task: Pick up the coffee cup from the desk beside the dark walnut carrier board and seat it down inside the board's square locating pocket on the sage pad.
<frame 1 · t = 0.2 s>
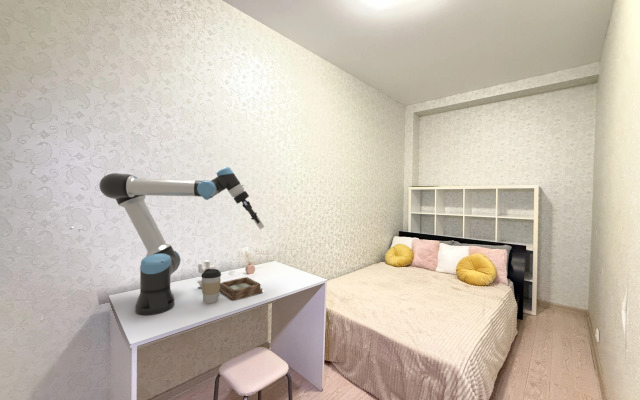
hand: (261, 226, 144), 35 cm above the table, tool tilted 35°, fingers open, 13 cm apart
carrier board: (240, 291, 141), on the table
coffee cup: (210, 300, 129), on the table
figurine: (206, 287, 146), on the table
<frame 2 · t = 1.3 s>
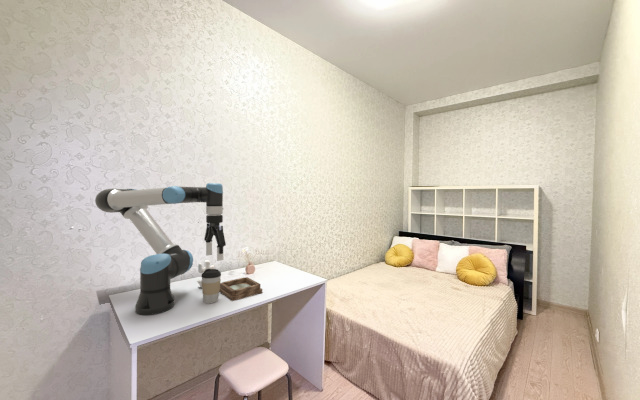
hand: (214, 257, 129), 21 cm above the table, tool pointing down, fingers open, 13 cm apart
nothing on the table moved.
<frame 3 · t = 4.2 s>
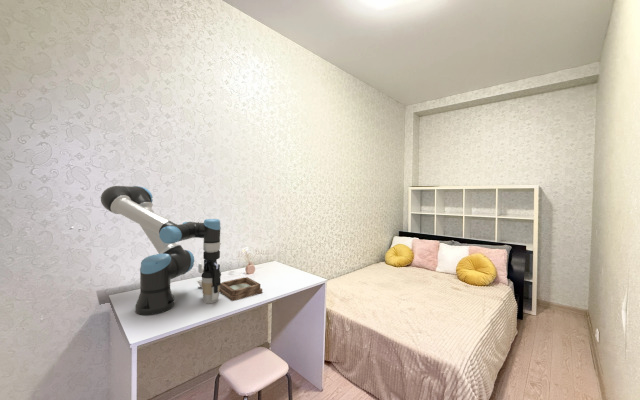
hand: (211, 296, 129), 2 cm above the table, tool pointing down, fingers closed on coffee cup, 9 cm apart
coffee cup: (210, 300, 129), on the table, touching gripper
everything else where it was.
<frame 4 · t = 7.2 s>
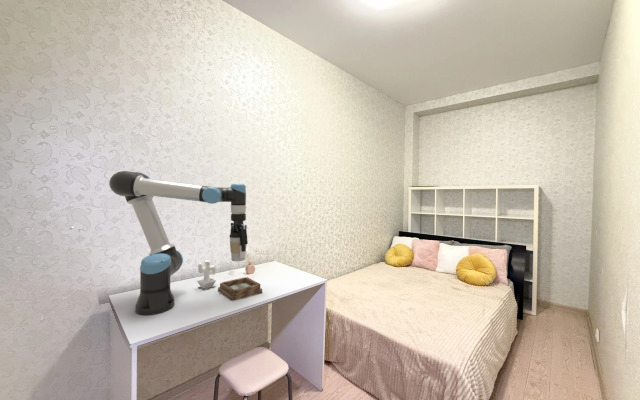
hand: (238, 255, 139), 20 cm above the table, tool pointing down, fingers closed on coffee cup, 9 cm apart
coffee cup: (238, 260, 139), point 18 cm above the table, touching gripper
everything else where it was.
when the fingers open (6 cm above the table, at t = 10.1 s): coffee cup drops 1 cm, resting on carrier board.
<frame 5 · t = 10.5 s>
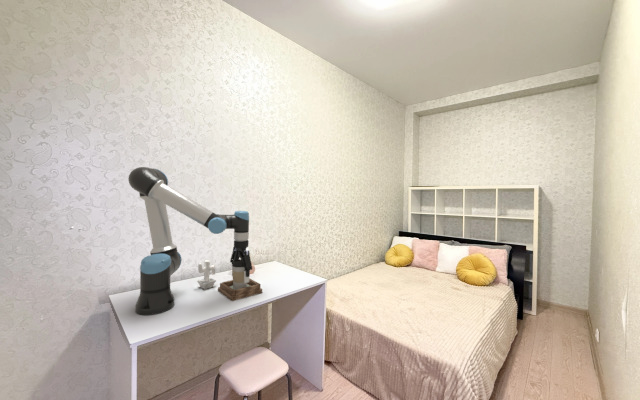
hand: (240, 279, 141), 7 cm above the table, tool pointing down, fingers open, 13 cm apart
coffee cup: (240, 288, 141), point 2 cm above the table, touching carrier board
everything else where it was.
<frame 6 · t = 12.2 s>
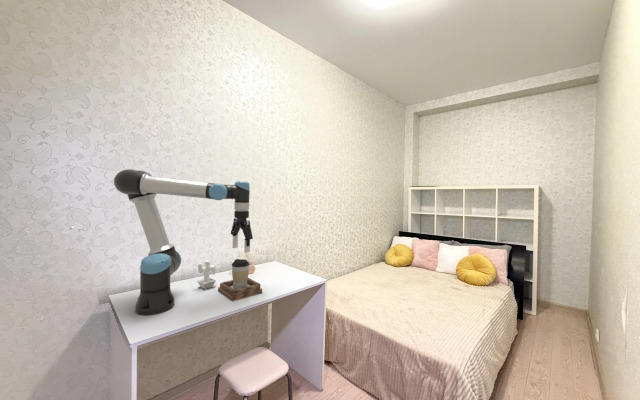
hand: (240, 249, 141), 23 cm above the table, tool pointing down, fingers open, 13 cm apart
nothing on the table moved.
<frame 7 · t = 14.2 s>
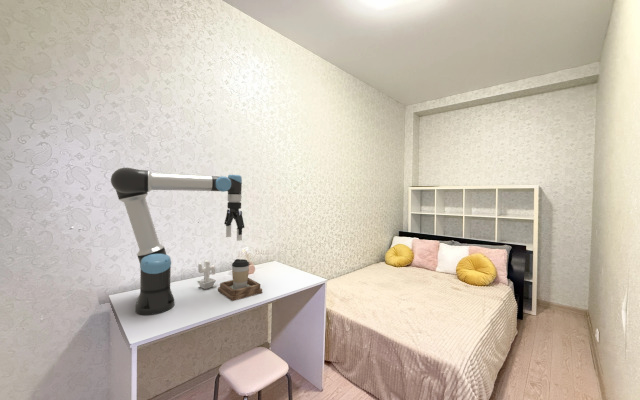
hand: (233, 238, 151), 27 cm above the table, tool pointing down, fingers open, 13 cm apart
nothing on the table moved.
at the end: coffee cup 0.1 cm off-centre on the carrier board, point 2.0 cm above the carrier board's base; coffee cup tilted 0°; the gripper is holding nothing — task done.
